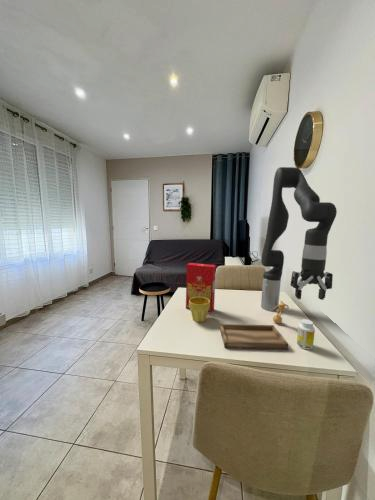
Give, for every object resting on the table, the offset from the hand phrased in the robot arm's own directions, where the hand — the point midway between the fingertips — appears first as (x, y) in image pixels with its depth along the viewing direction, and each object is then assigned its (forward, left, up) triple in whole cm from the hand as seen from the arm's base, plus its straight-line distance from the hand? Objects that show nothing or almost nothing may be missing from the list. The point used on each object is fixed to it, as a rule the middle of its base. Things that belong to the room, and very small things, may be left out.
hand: (309, 298), depth 77 cm
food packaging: (-32, -40, -20) cm, 55 cm away
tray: (-4, -20, -19) cm, 28 cm away
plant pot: (-20, -41, -20) cm, 50 cm away
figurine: (-17, -3, -20) cm, 26 cm away
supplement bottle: (0, 0, -20) cm, 20 cm away
